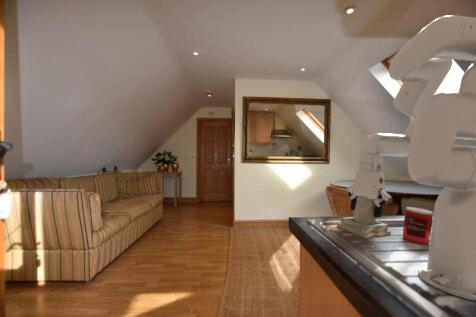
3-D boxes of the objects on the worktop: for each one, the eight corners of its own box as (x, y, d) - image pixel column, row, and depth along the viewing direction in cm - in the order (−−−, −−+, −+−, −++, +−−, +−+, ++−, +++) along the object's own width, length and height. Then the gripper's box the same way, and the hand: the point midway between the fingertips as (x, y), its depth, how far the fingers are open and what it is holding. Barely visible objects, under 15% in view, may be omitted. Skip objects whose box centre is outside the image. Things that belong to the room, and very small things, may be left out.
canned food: (419, 237, 87) (423, 208, 86) (435, 246, 79) (439, 213, 78) (397, 235, 87) (400, 205, 87) (410, 243, 80) (414, 211, 79)
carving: (377, 231, 86) (381, 198, 85) (354, 227, 88) (358, 195, 87) (372, 226, 92) (376, 196, 91) (351, 223, 94) (355, 193, 93)
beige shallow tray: (365, 237, 81) (366, 227, 81) (337, 226, 92) (338, 217, 92) (390, 234, 88) (391, 225, 87) (361, 224, 98) (362, 215, 98)
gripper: (399, 171, 83) (394, 219, 83) (356, 166, 98) (352, 207, 99) (386, 170, 80) (380, 221, 80) (343, 165, 95) (339, 207, 96)
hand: (365, 213), depth 90 cm, fingers open, 9 cm apart
